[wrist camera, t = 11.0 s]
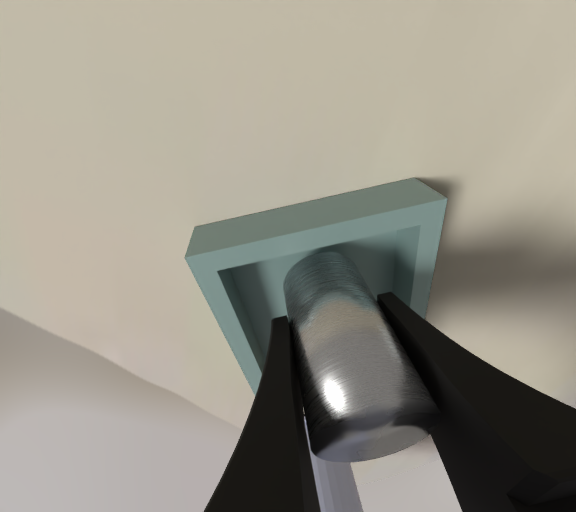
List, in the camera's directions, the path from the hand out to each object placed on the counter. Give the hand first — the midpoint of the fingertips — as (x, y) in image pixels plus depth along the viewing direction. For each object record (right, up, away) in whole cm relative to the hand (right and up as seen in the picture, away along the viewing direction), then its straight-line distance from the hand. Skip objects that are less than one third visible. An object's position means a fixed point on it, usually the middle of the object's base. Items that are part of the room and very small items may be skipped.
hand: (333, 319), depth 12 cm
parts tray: (0, 0, +5) cm, 5 cm away
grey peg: (0, +1, +2) cm, 2 cm away
